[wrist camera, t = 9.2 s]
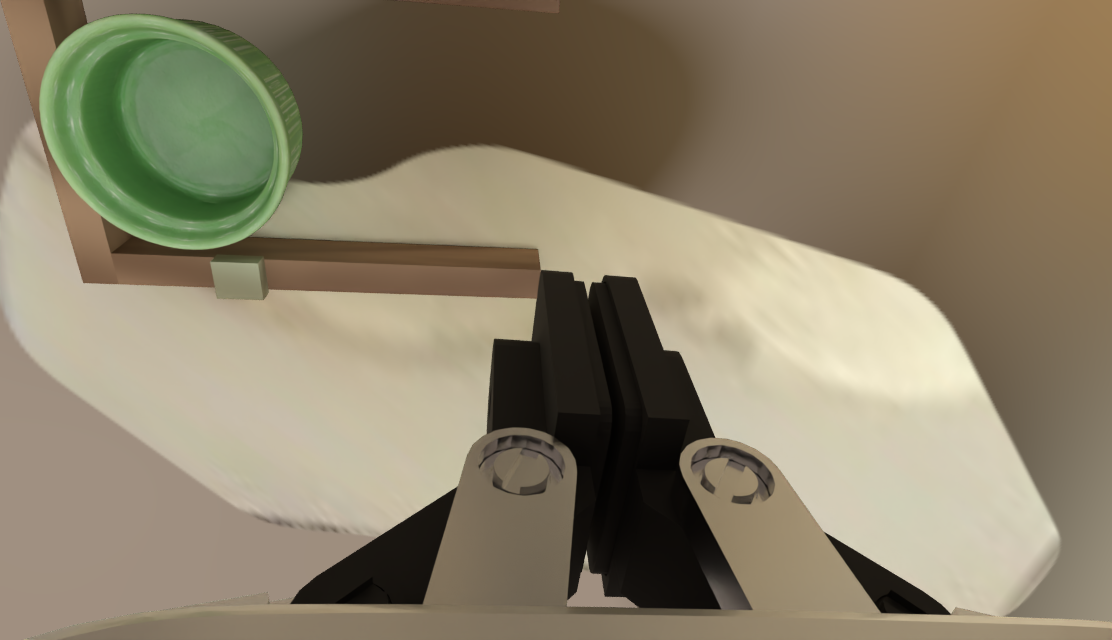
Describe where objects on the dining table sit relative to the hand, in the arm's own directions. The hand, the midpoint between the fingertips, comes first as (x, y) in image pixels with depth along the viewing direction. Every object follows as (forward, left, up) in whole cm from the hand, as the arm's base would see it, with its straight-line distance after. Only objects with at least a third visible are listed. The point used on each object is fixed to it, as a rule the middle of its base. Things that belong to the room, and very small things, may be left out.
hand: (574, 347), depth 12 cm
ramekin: (+1, -14, -21) cm, 25 cm away
